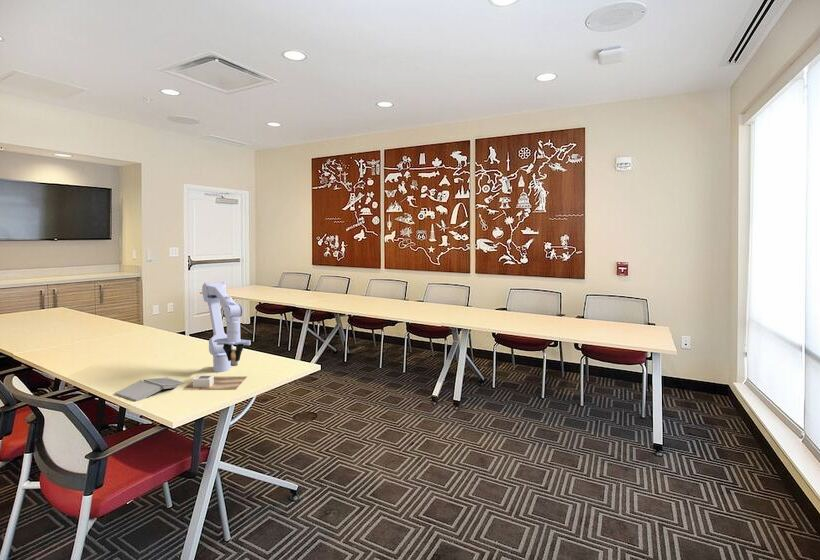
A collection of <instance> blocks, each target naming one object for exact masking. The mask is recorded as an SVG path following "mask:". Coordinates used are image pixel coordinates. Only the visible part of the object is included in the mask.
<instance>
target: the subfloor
mask: <svg viewBox="0 0 820 560" xmlns="http://www.w3.org/2000/svg"><path fill="white" fill-rule="evenodd" d="M213 376H214V375H213ZM247 377H248V376H247V375H246V376H241V375H240V376H238V375H237V376H236V375H234V376H223V375H222V376H221V375H220V376H214V384H213V385H212V386H211V387H193V381H192V382H190V383H189V384H187V385H186V386H185V387H184V388H183V389H182V391H236V390H237V389H238V388H239V387H240V386H241V385H242V383H243V382H245V380H246V379H247Z"/></svg>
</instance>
